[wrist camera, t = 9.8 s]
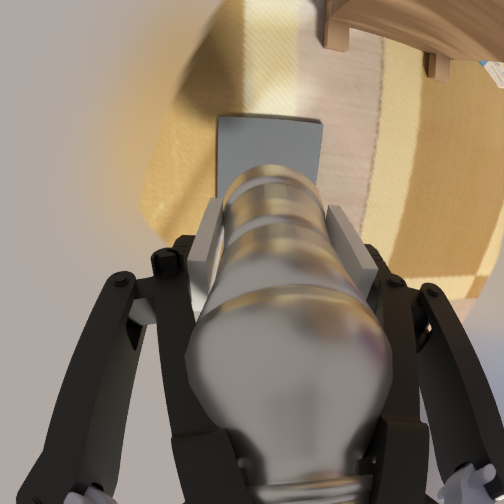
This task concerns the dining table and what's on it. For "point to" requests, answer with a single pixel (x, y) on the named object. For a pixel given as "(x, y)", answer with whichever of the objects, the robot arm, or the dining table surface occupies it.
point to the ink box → (495, 71)
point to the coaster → (265, 147)
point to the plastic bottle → (289, 347)
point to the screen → (424, 28)
